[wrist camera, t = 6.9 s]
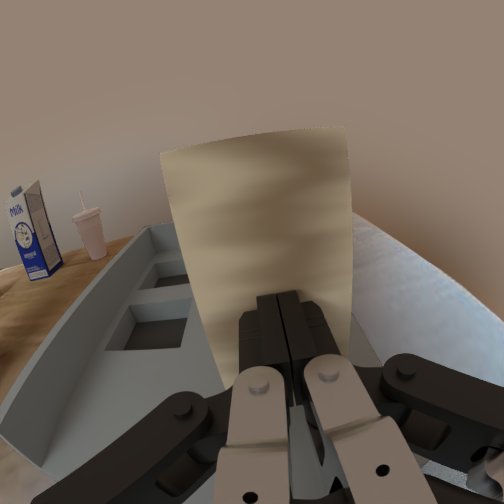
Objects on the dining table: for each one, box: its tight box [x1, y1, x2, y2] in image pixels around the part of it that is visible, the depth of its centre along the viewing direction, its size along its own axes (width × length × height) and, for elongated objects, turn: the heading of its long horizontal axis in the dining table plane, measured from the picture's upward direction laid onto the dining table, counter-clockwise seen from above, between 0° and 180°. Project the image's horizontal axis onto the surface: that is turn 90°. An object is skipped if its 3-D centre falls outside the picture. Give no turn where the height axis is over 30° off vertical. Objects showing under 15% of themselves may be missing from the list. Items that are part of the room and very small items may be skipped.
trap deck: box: [0, 221, 429, 504], centre depth 23 cm, size 22×34×6 cm, turn 3°
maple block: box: [159, 127, 353, 405], centre depth 13 cm, size 6×6×13 cm
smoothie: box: [72, 191, 107, 260], centre depth 47 cm, size 6×6×14 cm
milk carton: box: [5, 180, 64, 281], centre depth 43 cm, size 7×7×20 cm
